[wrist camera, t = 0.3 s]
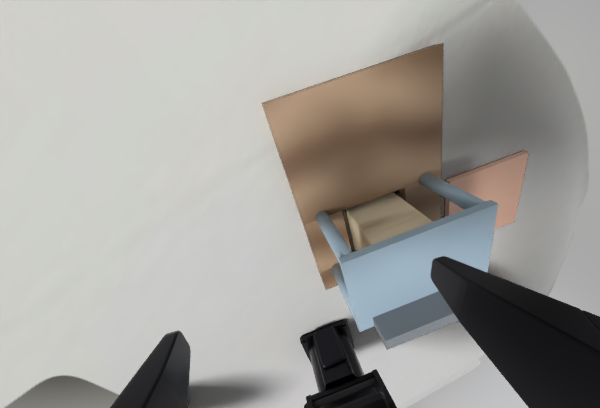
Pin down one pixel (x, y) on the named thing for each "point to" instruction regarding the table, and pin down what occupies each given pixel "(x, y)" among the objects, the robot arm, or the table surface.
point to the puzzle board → (361, 142)
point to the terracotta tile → (494, 186)
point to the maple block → (382, 220)
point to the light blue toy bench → (411, 266)
